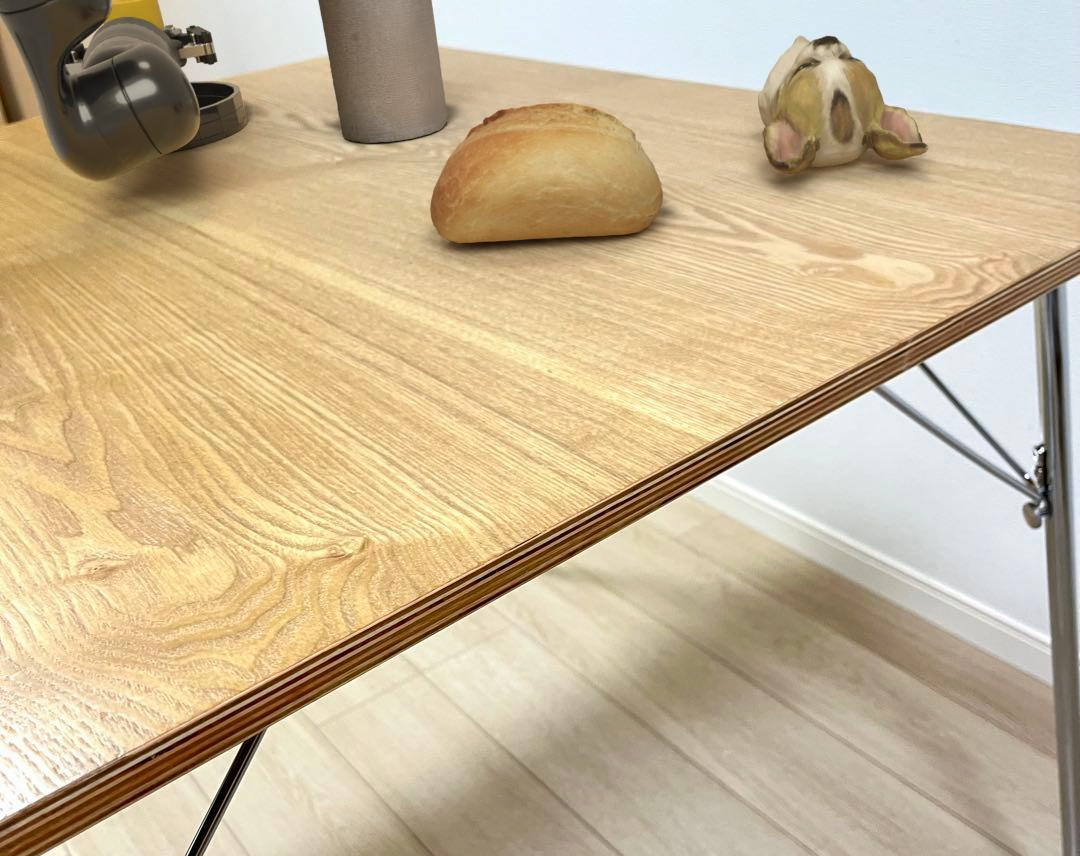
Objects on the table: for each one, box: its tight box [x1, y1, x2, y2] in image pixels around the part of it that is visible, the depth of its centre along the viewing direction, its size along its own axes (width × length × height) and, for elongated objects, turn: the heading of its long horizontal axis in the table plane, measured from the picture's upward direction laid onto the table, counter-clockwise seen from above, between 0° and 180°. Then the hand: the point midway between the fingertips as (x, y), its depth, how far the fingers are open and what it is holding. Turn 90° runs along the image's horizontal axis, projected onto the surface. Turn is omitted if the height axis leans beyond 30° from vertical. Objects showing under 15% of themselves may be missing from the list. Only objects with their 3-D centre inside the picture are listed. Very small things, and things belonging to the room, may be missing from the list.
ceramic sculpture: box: [757, 35, 929, 175], centre depth 80 cm, size 11×9×15 cm
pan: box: [171, 80, 248, 153], centre depth 109 cm, size 16×16×3 cm
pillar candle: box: [317, 0, 448, 144], centre depth 99 cm, size 10×10×15 cm
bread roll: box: [429, 102, 664, 244], centre depth 73 cm, size 10×15×8 cm, turn 93°
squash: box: [103, 0, 165, 28], centre depth 106 cm, size 5×5×11 cm
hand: (140, 41), depth 108 cm, fingers closed on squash, 5 cm apart
